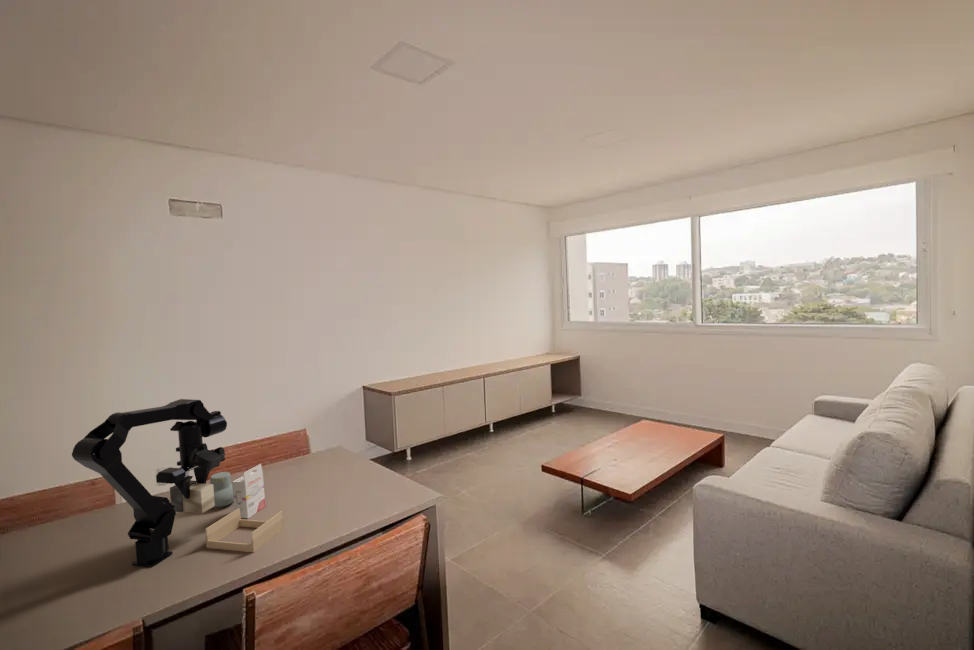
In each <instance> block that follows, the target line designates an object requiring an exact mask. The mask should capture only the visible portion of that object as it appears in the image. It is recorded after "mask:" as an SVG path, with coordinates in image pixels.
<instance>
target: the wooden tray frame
mask: <svg viewBox="0 0 974 650" xmlns="http://www.w3.org/2000/svg"><path fill="white" fill-rule="evenodd" d="M240 527H242V528H243V527H245V528H256V529H254V530H253V531H251V532H250V535H251V541H250V542H251V543H244V542H232V541H223V538H225V537H227V536H228V535H230V534H232V532H234V531H236V530H237V529H238V528H240ZM284 529H285V528H284V517H283V510H280V511H279V512H278V513H276V514H275V515H274V516H273V517H271V518H269V519H268V520H256V519H247V518H241V514H240V508H238V509H236V510H235V511H234V510H233V511H231V512H230V513H228V514H227V515H225V516H223V517H222V518H220V519H219V520H217V521H216V522H214V523H212V524H211V525H210V526H208V527H206V528H205V542H206V543H205V545H206V549H215V550H225V551H235V552H245V553H255V552H257V551H258V550H259V549H260V548H262V547H263V546H265V544H267V542H270V540H272V539H273V538H274V537H276V535H278V534H279V533H280V532H282V531H283V530H284Z"/></svg>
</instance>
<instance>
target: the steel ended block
mask: <svg viewBox="0 0 974 650" xmlns="http://www.w3.org/2000/svg"><path fill="white" fill-rule="evenodd" d="M169 495H170V503H171V504H172V505H174V506H175V508H173V509H174V510H175V511H176V513H183V512H187V513H197V514H199V513H200V514H203V513H205V512H207V511H209V510H210V509H212V508H214V506H215V502H214V488H213V484H209V483H206V484H200V483H197V482H196V480H192V479H191V480H190V498H189V499H186V498H185V497H184V496H183V494H182V493H181V491H180V490H179V489H178V487H177V486H176V485H175V484H174V485H173V486H171V487H169Z"/></svg>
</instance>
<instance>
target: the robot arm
mask: <svg viewBox="0 0 974 650" xmlns="http://www.w3.org/2000/svg"><path fill="white" fill-rule="evenodd" d="M175 420H176V421H175ZM178 420H179V421H178ZM168 421H175V423H174V425H172V426H171V427H170V431H172V432H177V433H178V447H175V452H176V453H177V452H178V453H179V461H177V462H176V466H179V467H167V468H164V469H162V470H161V471H158V472H157V473H156V475H155V480H156V483H157V484H170V485H171V484H174V486H175V485H176V486H177V487H178V489H179V490H180V491H181V493H182V494H183V496H184V497H185V498H186V499H189V498H190V480H192V479H193V477H194V476H195V481H196V483H200V484H207V480H208V477H209V475H210V472H211V471H213V470H214V469H215V468H218V467H220V465H221V463H222V462H224V461H226V456H225V455H226V453H225V452H226V451H225V448H224V447H222V446H218V447H217V448H215V449H211V450H210V449H208V445H207V443H205V442H203V438H209V437H211V436H214V435H217V434H220V433H223V432H225V431H226V429H227V427H228V423H227V420H226V418H225V416H223V415H222V412H221V411H220V410H214V411H211V412H210V411H208V409H207V408H206V407H205V405H204V403H203V402H202V400H200V399H183V398H179V399H177V400H174V401H172V402H171V401H170V402H169V403H168V404H166V405H162V406H156V407H150V408H145V409H138V410H131V411H125V412H114V413H112V414H110V415H109V416H108V417H107V418H106V419H105V421H104V422H102V423H101V424H99V425H98V426H96V427H95V428H93V429H92V430H90V431H89V432H88V433H87V434H86V435H85V437H84V438H82V439H81V440H79V441H78V442H77V443H76V444H74V446H73V449H72V453H71V457H72V458H73V460H74V461H76V462H77V463H78V464H80V465H82V466H83V467H85V468H87V469H89V470H91V471H94V472H96V473H97V474H100V476H102V478H103V479H105V481H106V482H107V483H108V484H109V485H110V486H111V487H112V488H113V489H114V490H115V491H116V492H117V494H119V495H120V497H122V498H123V499H124V501H125V502H126V503H127V504H128V505H130V507H131V508H132V509H133V518H134V520H135V521H134V522H133V524H132V526H131V527H130V528H129V530H128V532H127V536H128V538H129V539H130V540H135V542H134V546H135V556H136V557H135V558H136V559H135V560H134V561H132V562H131V565H132V566H140V567H148V568H152V567H154V566H155V565H157V564H159V563H160V562H162V561H163V560H165V559H167V558H168V557H170V556H171V555H172V554H173V550H172V551H171V550H169V538H168V536H170V535H172V532H173V531H172V530H173V526H174V523H175V519H176V518H175V517H176V515H177V512H176V511H175V510H174V509H173V508H175V506H174V505H172V504H171V500H170V499H168V497H165V496H160V495H158V496H157V495H152V494H151V493H150V492H149V490H148V489H147V488H146V487H145V486H144V485H143V484H142V483H141V482H140V481H139V479H137V477H136V476H135V475H134V474H133V473H132V472H131V470H130V469H128V468H127V466H126V465H125V464H124V463H123V457H122V456H123V455H122V452H121V447H122V446H123V445H124V444H125V443H126V441H127V437H128V436H129V435H128V434H129V432H130V431H131V429H132V428H135V427H141V426H145V425H150V424H151V425H152V424H156V423H162V422H168ZM183 421H185V422H183ZM110 435H111V436H110ZM108 436H109V437H108ZM107 437H108V438H107ZM190 471H193V474H194V476H193V475H190Z"/></svg>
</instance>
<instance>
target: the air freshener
mask: <svg viewBox="0 0 974 650" xmlns="http://www.w3.org/2000/svg"><path fill="white" fill-rule="evenodd" d="M231 479H232V478H231V473H230V472H229V471H221V472H216V473H214V474H212V475H211V476H210V478H209V481H210V482H209V483H210V484H213V488H214V502H215V506H214V507H213V509H216V508H223V507H227V506H229V505H231V504H232V503H233V504H234V500H233V489H232V480H231Z"/></svg>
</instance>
